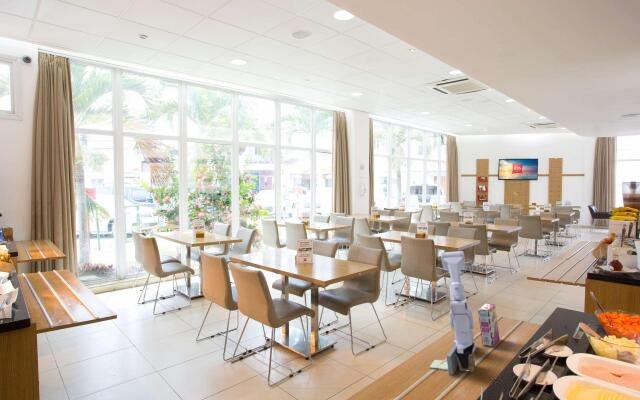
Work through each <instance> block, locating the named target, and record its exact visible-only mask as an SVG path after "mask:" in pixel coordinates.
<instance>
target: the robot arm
mask: <svg viewBox="0 0 640 400" xmlns="http://www.w3.org/2000/svg"><path fill="white" fill-rule="evenodd" d="M440 257H441V258H440V259H441V265H442V268H443V270H444V271H448V273H449V276H450V281H451V282H450V283H451V284H450V285H449V297H450V301H449V307H450V310H449V323H450V324H449V325H450V329H451V330H453V331H454V332H453V333H454V338H455V339H454V340H453V341H452V343H453V344H456V345H457V349H455V354H456V355H457V357H458V358H459V361H460V363H461V366H462V368H463V369H468V365H469V354H474V353H475V351H476V349H477V347H478V345H477V344H475V339H474V338H475V336H474V332H473V330H474V328H475V324H474V317H473V312H472V311H471V310H470V309H469V305H468V301H467V298H466V292H465V286H464V284H462V280H461V279H462V278H461V272H462V270H464V269H466V258H465V253H464V251H463V250H461V251H458V250H457V251H449V252H447V251H446V252H440Z"/></svg>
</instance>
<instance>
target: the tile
mask: <svg viewBox="0 0 640 400" xmlns="http://www.w3.org/2000/svg"><path fill="white" fill-rule="evenodd" d="M442 361H443V359H442V360H441V359H440V360H439V359H434V360H433V361H432V363H431V364H430V366H429V369H432V370H433V368H438V369H437V370H440V369H441V370H440V371H448V364H447V360H445V361H446V362H444V363H443V364H441V365H439V364H440V363H441V362H442ZM438 365H439V366H438ZM437 366H438V367H437Z"/></svg>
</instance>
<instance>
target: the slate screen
mask: <svg viewBox="0 0 640 400" xmlns="http://www.w3.org/2000/svg"><path fill="white" fill-rule="evenodd" d="M453 344H454V345H453V346H452V347H451V348H450V350H449V351H448V353H447V354H446V361H447V364H448V370H447V371H448V374H449V375H450V376H451V375H452V376H453V375H454V373H455V371H456V370H457V369H458V368H459V363H458V357H457V355H456V354H455V349H457V345H456V344H455V343H453Z"/></svg>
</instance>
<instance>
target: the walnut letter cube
mask: <svg viewBox="0 0 640 400" xmlns="http://www.w3.org/2000/svg"><path fill="white" fill-rule="evenodd" d="M458 363H459V365H458V368H459V371H462V372H467V371H466V370H469V371H470V372H469V373H474V371H475V369H476V363H475V354H474V353H473V354H469V365H468V369H463V368H462V366H461V363H460V361H459V358H458Z"/></svg>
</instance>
